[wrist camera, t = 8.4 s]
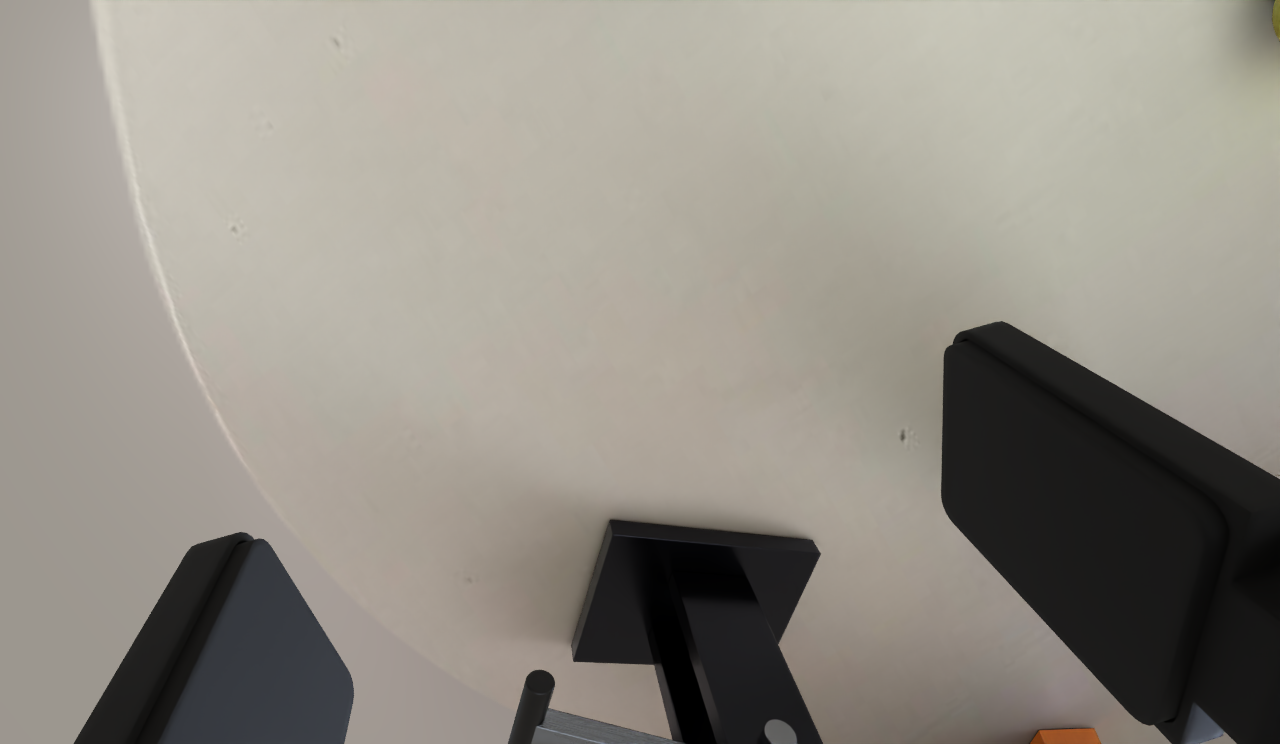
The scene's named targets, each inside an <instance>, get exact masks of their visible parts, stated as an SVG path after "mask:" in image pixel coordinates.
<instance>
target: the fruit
mask: <svg viewBox="0 0 1280 744" xmlns="http://www.w3.org/2000/svg"><path fill="white" fill-rule="evenodd" d="M1272 22H1273V27H1274V30H1275V33H1276V36H1277V37H1278V39H1279V41H1280V0H1275V3H1274V7H1273V15H1272Z"/></svg>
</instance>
